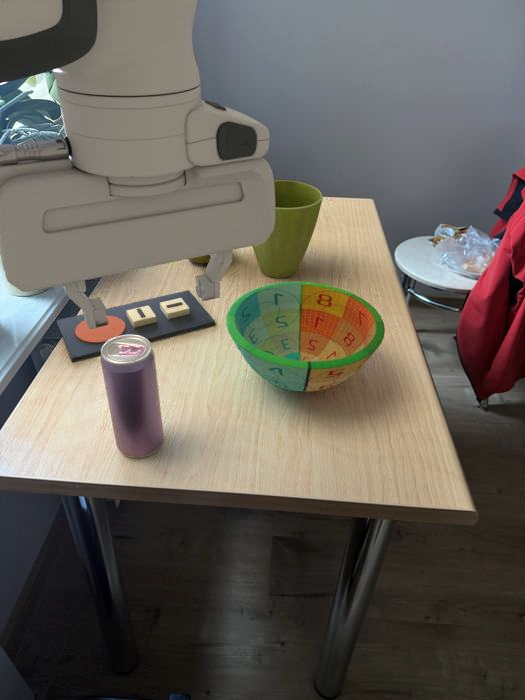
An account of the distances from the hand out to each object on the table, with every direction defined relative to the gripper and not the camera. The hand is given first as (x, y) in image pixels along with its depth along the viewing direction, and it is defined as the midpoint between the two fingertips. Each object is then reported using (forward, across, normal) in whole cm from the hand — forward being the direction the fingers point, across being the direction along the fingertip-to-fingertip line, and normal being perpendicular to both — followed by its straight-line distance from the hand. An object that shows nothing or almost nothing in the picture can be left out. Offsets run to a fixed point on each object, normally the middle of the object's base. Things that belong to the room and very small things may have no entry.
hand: (154, 309), depth 43 cm
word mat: (+27, +8, +40) cm, 49 cm away
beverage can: (+27, 0, +13) cm, 30 cm away
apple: (+28, +28, +58) cm, 70 cm away
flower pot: (+28, +40, +47) cm, 67 cm away
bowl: (+28, +26, +16) cm, 41 cm away
